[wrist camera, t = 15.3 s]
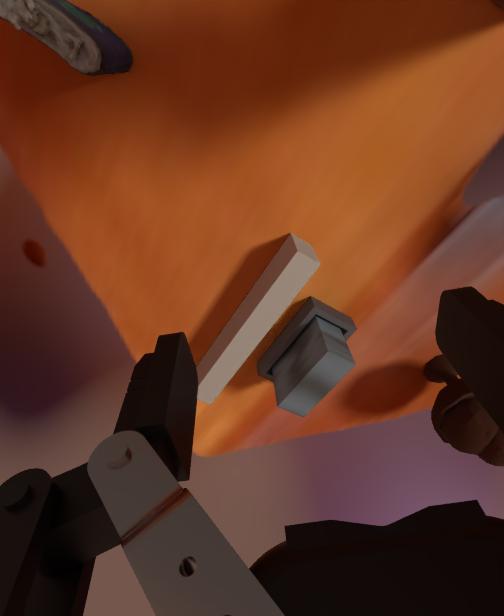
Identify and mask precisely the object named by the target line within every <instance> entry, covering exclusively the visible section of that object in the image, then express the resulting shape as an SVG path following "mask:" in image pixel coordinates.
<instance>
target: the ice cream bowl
mask: <svg viewBox="0 0 504 616" xmlns="http://www.w3.org/2000/svg"><path fill="white" fill-rule="evenodd" d="M424 374H425V376H426V377H427V379H428V380H429V381H432V382H436V383H442V382H446V384H447V386H446V387H444V388H443V389H442V390H440V392H439V393H438V395H437V398H436V400H435V403H434V406H433V409H432V411H431V413H432V414H431V419H432V423H433V426H434V429H435V431H436V432H437V433H438V435H439V436H440V437H441V439H442V440H443V441H444V442H445V443H450V445H452V447H453V448H455V449H457V450H458V451H460V452H464V453H469V454H476V455H478V456H479V457H480V458H481V459H482V460H484V461H485V462H486V463H489V464H492V465H494V466H504V434H503V432H502V431H501V430H500V428H499V427H498V426H497V424H496V423H495V422H494V421H493V419H492V418H491V417H490V415H489V414H488V413H487V411H486V410H485V409H484V407H483V406H482V405H481V403H480V402H479V401H478V399H477V398H476V397H475V395H474V394H473V393H472V392H471V390H470V389H469V388H468V386H467V385H466V384H465V382H464V381H463V380H462V378H461V379H458V378H457V375H458V373H457V372H456V370H455V369H454V368H453V366H452V365H451V364H450V362H449V361H448V360H447V359H446V357H445V356H444V355H439V356H436V357H435V358H433V359H432V360H431V361H430V362H428V363H427V364H426V367H425V370H424Z"/></svg>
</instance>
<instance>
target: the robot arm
mask: <svg viewBox="0 0 504 616" xmlns="http://www.w3.org/2000/svg"><path fill="white" fill-rule="evenodd" d="M493 1H494V2H495V3H496V4H497V5H498V6H499V7H500V8H502V9H503V10H504V0H493ZM435 335H436V341H437V344H438V347H439V349H440V350H441V352H442V353H443V355H444V356H445V357H446V359H447V360H448V361H449V362H450V364H451V365H452V366H453V368H454V369H455V370H456V372H457V373H458V374H459V376H460V377H461V378H462V380H463V381H464V382H465V384H466V385H467V386H468V388H469V389H470V390H471V392H472V393H473V394H474V395H475V397H476V398H477V399H478V401H479V402H480V403H481V405H482V406H483V407H484V409H485V410H486V411H487V413H488V414H489V415H490V417H491V418H492V419H493V421H494V422H495V423H496V424H497V426H498V427H499V428H500V430H501V431H502V432H503V434H504V305H503V304H501V303H499V302H496V301H494V300H487V299H486V298H485V297H484V296H483V295H482V294H481V293H479V292H478V291H477V290H476V289H475V288H473V287H463V288H457V289H451V290H445V291H443V292H442V294H441V297H440V303H439V310H438V317H437V324H436V331H435ZM197 395H198V375H197V370H196V366H195V363H194V360H193V357H192V354H191V351H190V348H189V345H188V342H187V338H186V336H185V334H184V332H179V333H173V334H166V335H160V336H159V337H158V340H157V344H156V348H155V351H154V353H148V354H144V356H143V357H142V358H141V359H140V361H139V362H138V363H137V364H136V365H135V367H134V370H133V374H132V376H131V382H130V383H129V386H128V389H127V393H126V395H125V399H124V402H123V405H122V408H121V411H120V414H119V417H118V420H117V423H116V427H115V430H114V433H113V435H111V436H109V437H108V438H106V439H105V440H103V441H102V442H101V443H100V444H99V445H98V446H97V447H96V448H95V450H94V451H93V452H92V454H91V456H90V458H89V461H88V462H87V463H85V464H83V465H81V466H79V467H76V468H74V469H72V470H69V471H67V472H65V473H62V474H60V475H58V476H55V477H53V478H51V476H50V475H49V474H48V473H47V472H46V471H45V470H43V469H38V468H35V469H28V470H25V471H22V472H20V473H18V474H16V475H14V476H13V477H11V478H9V479H8V480H7V481H5V482H4V483H3V484H2V485H1V486H0V616H83V613H84V608H85V604H86V599H87V595H88V590H89V586H90V581H91V577H92V572H93V568H94V563H95V559H96V556H97V555H99V554H101V553H103V552H106V551H108V550H110V549H112V548H114V547H116V546H118V545H120V544H121V546H122V548H123V550H124V553H125V555H126V557H127V559H128V561H129V562H130V565H131V567H132V569H133V570H134V573H135V575H136V577H137V579H138V581H139V583H140V584H141V587H142V589H143V591H144V593H145V594H146V597H147V599H148V601H149V603H150V605H151V607H152V609H153V611H154V613H155V615H156V616H504V519H500V518H496V517H491V516H486V515H485V513H484V512H483V510H482V508H481V506H480V505H479V503H478V501H477V500H472V501H464V502H458V503H450V504H442V505H435V506H428V507H427V508H424V509H422V510H420V511H418V512H415V513H413V514H411V515H409V516H407V517H404V518H402V519H400V520H398V521H396V522H394V523H391V524H389V525H386V526H375V525H366V524H360V523H352V522H344V521H337V520H325V521H318V522H311V523H303V524H296V525H289V526H285V533H286V541H284V542H282V543H280V544H278V545H276V546H275V547H273V548H271V549H270V550H268V551H267V552H266V553H265V554H263V555H262V556H261V557H260V558H259V559H257V561H256V562H255V563H254V564H253V565H252V566H251V567H250V568H248V567H247V566H246V564H245V563H244V562H243V560H242V559H241V558H240V557H239V555H238V554H237V553H236V551H235V550H234V549H233V547H232V546H231V545H230V543H229V542H228V541H227V540H226V538H225V537H224V536H223V534H222V533H221V532H220V530H219V529H218V528H217V527H216V525H215V524H214V523H213V521H212V520H211V519H210V517H209V516H208V515H207V513H206V512H205V511H204V509H203V508H202V507H201V506H200V504H199V503H198V502H197V500H196V499H195V498H194V496H193V495H192V494H191V493H190V492H189V490H187V489H186V488H184V489H183V488H182V487H181V486H180V484H179V483H178V482H179V481H187V480H189V477H190V467H191V456H192V446H193V436H194V426H195V415H196V405H197Z"/></svg>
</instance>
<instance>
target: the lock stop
mask: <svg viewBox="0 0 504 616" xmlns="http://www.w3.org/2000/svg"><path fill="white" fill-rule="evenodd" d="M355 365H356V364H355V362H354V360H353V357H352V355H351V353H350V350H349V348H348V346H347V343H346V341H345V339H344V336H343V334H342V332H341V330H340V327H339V326H338V325H336V324H334V323H332V322H330V321H328V320H326V319H325V318H323V317H321V316H319V315H317V314H315V316H314V317H313V318H312V319H311V320H310V322H309V323H308V324H307V325H306V326H305V328H304V329H303V330H302V331H301V332H300V333H299V335H298V336H297V337H296V338H295V339H294V341H293V342H292V343H291V344H290V345H289V347H288V348H287V349H286V350H285V351H284V352H283V354H282V355H281V356H280V357H279V358H278V360H277V361H276V362H275V363H274V364H273V366H272V373H273V380H274V387H275V394H276V401H277V407H279V408H281V409H284V410H286V411H289V412H291V413H294V414H296V415H299V416H301V417H305V416H306V415H307V414H308V413H309V412H310V411H311V410H312V409H313V408H314V406H315V405H316V404H317V403H318V402H319V401H320V400H321V399H322V398H323V397H324V396H325V395H326V394H327V393H328V392H329V391H330V390H331V389H332V388H333V387H334V386H335V385H336V384H337V383H338V382H339V381H340V380H341V379H342V378H343V377H344V376H345V375H346V374H347V373H348V372H349V371H350V370H351V369H352V368H353V367H354V366H355Z"/></svg>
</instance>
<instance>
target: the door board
mask: <svg viewBox="0 0 504 616" xmlns="http://www.w3.org/2000/svg"><path fill="white" fill-rule="evenodd" d="M320 265H321V264H320V262H319V260H318V258H317V255H316V253H315V251H314V249H313V247H312V245H310V244H309V243H307V242H305V241H304V240H302V239H300V238H299V237H297V236H295V235H294V234H292V233H290V235H289V236H288V237H287V239H286V240H285V242H284V243H283V245H282V246H281V247H280V249H279V250H278V252H277V253H276V255H275V256H274V257H273V259H272V260H271V262H270V263H269V264H268V266H267V267H266V269H265V270H264V272H263V273H262V274H261V276H260V277H259V279H258V280H257V281H256V283H255V284H254V286H253V287H252V289H251V290H250V291H249V293H248V294H247V296H246V297H245V299H244V300H243V301H242V303H241V304H240V306H239V307H238V308H237V310H236V311H235V313H234V314H233V316H232V317H231V318H230V320H229V321H228V323H227V324H226V326H225V327H224V328H223V330H222V331H221V333H220V334H219V335H218V337H217V338H216V340H215V341H214V343H213V344H212V345H211V347H210V348H209V350H208V351H207V353H206V354H205V355H204V357H203V358H202V360H201V361H200V362H199V364H198V365H197V367H196V370H197V375H198V395H197V399H198V400H200V401H203V402H205V403H208V404H212V403H213V401H214V400H215V399H216V397H217V396H218V395H219V394H220V392H221V391H222V390H223V388H224V387H225V386H226V385H227V383H228V382H229V381H230V380H231V378H232V377H233V376H234V374H235V373H236V372H237V371H238V369H239V368H240V367H241V366H242V364H243V363H244V362H245V360H246V359H247V358H248V357H249V355H250V354H251V353H252V351H253V350H254V349H255V348H256V346H257V345H258V344H259V343H260V341H261V340H262V339H263V337H264V336H265V335H266V334H267V332H268V331H269V330H270V329H271V327H272V326H273V325H274V323H275V322H276V321H277V320H278V318H279V317H280V316H281V315H282V313H283V312H284V311H285V309H286V308H287V307H288V306H289V304H290V303H291V302H292V300H293V299H294V298H295V297H296V295H297V294H298V293H299V292H300V290H301V289H302V288H303V286H304V285H305V284H306V283H307V281H308V280H309V279H310V278H311V276H312V275H313V274H314V272H315V271H316V270H317V269H318V267H319V266H320Z"/></svg>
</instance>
